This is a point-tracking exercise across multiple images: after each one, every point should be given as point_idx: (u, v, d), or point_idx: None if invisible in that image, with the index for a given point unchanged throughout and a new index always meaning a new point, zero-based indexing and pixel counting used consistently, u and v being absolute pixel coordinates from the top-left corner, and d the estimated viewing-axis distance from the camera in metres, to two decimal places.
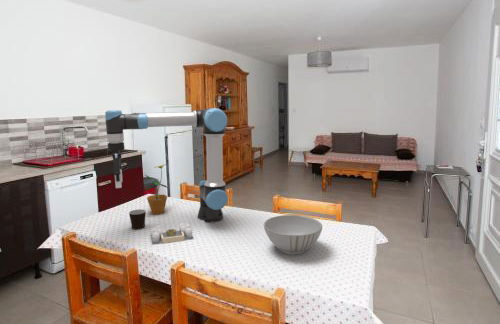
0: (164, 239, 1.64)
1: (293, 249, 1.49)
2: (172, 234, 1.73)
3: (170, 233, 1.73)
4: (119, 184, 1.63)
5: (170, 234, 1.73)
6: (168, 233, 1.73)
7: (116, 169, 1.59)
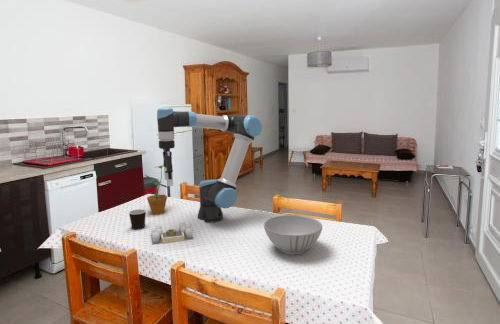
0: (164, 239, 1.64)
1: (293, 249, 1.49)
2: (172, 234, 1.73)
3: (170, 233, 1.73)
4: (171, 182, 1.62)
5: (170, 234, 1.73)
6: (168, 233, 1.73)
7: (169, 167, 1.59)
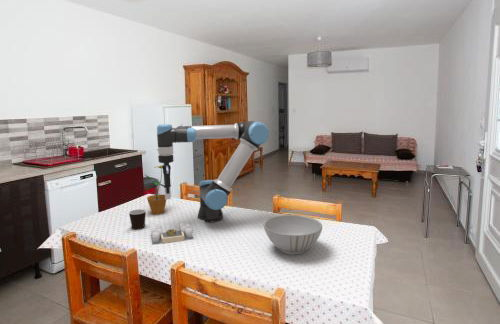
0: (164, 239, 1.64)
1: (293, 249, 1.49)
2: (172, 234, 1.73)
3: (170, 233, 1.73)
4: (168, 196, 1.79)
5: (170, 234, 1.73)
6: (168, 233, 1.73)
7: (167, 183, 1.74)
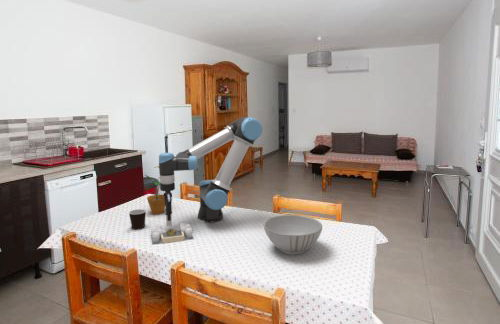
0: (164, 239, 1.64)
1: (293, 249, 1.49)
2: (172, 234, 1.73)
3: (170, 233, 1.73)
4: (170, 223, 1.81)
5: (170, 234, 1.73)
6: (168, 233, 1.73)
7: (168, 211, 1.77)
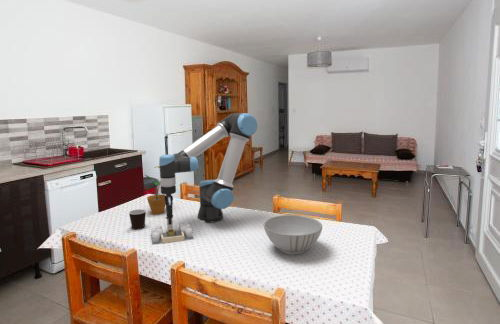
0: (164, 239, 1.64)
1: (293, 249, 1.49)
2: (172, 234, 1.73)
3: (170, 233, 1.72)
4: (171, 226, 1.76)
5: (170, 234, 1.72)
6: (168, 233, 1.73)
7: (169, 215, 1.72)
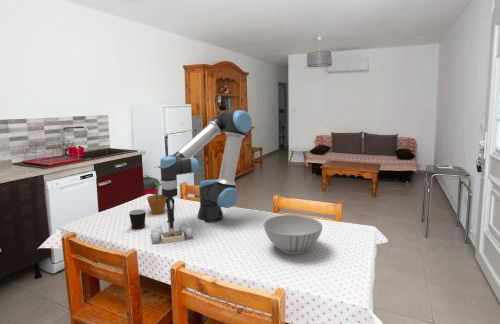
0: (164, 239, 1.64)
1: (293, 249, 1.49)
2: None
3: None
4: (172, 230, 1.71)
5: None
6: None
7: (171, 218, 1.67)
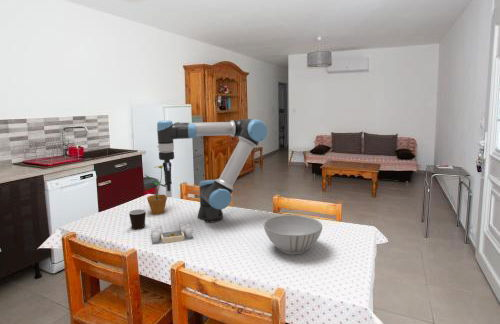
0: (164, 239, 1.64)
1: (293, 249, 1.49)
2: None
3: None
4: (169, 193, 1.75)
5: None
6: None
7: (168, 181, 1.71)
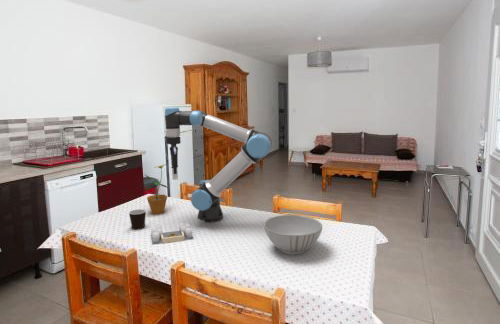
0: (164, 239, 1.64)
1: (293, 249, 1.49)
2: None
3: None
4: (176, 176, 1.86)
5: None
6: None
7: (174, 164, 1.82)
